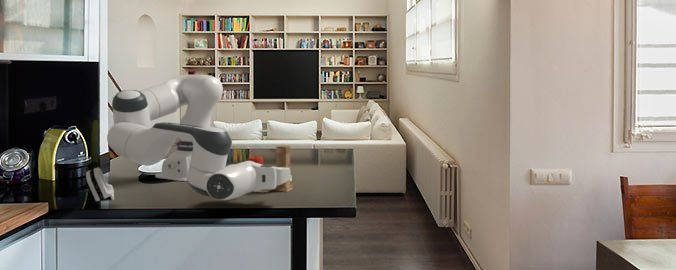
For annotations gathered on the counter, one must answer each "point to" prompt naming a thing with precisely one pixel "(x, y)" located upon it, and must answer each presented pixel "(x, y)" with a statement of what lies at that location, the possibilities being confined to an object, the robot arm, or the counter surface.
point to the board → (270, 189)
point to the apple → (256, 159)
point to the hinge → (99, 184)
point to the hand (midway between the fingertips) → (267, 168)
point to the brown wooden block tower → (283, 165)
